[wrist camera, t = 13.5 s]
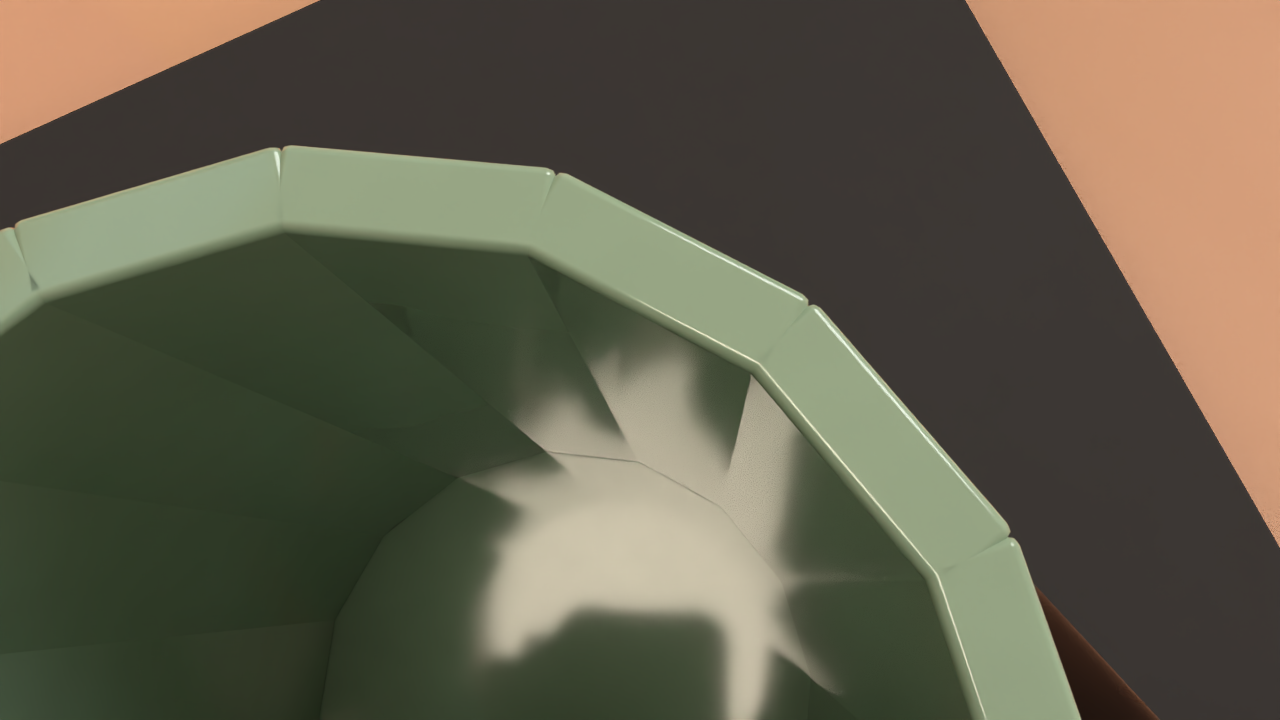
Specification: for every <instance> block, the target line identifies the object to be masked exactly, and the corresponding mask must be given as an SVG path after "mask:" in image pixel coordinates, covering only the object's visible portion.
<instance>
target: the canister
mask: <svg viewBox="0 0 1280 720" xmlns="http://www.w3.org/2000/svg"><path fill="white" fill-rule="evenodd" d="M1010 532H1011V531H1010V528H1009V526H1008V523H1007V521H1006V520H1005V519H1004V518H1003V517H1002V516H1001V514H1000V513H999V512H998V511H997V510H996V509H995V507H994V506H993V505H992V504H991V503H990V502H989V501H988V499H987V498H986V497H985V496H984V495H983V494H982V492H981V491H980V490H979V489H978V488H977V487H976V486H975V484H974V483H973V482H972V481H971V480H970V479H969V477H968V476H967V475H966V474H965V473H964V472H963V471H962V469H961V468H960V467H959V466H958V465H957V464H956V462H955V461H954V460H953V459H952V458H951V457H950V456H949V454H948V453H947V452H946V451H945V450H944V449H943V447H942V446H941V445H940V444H939V443H938V442H937V441H936V439H935V438H934V437H933V436H932V435H931V434H930V432H929V431H928V430H927V429H926V428H925V427H924V426H923V424H922V423H921V422H920V421H919V420H918V419H917V417H916V416H915V415H914V414H913V413H912V412H911V411H910V409H909V408H908V407H907V406H906V405H905V404H904V402H903V401H902V400H901V399H900V398H899V397H898V396H897V394H896V393H895V392H894V391H893V390H892V389H891V387H890V386H889V385H888V384H887V383H886V382H885V381H884V379H883V378H882V377H881V376H880V375H879V374H878V372H877V371H876V370H875V369H874V368H873V367H872V366H871V364H870V363H869V362H868V361H867V360H866V359H865V357H864V356H863V355H862V354H861V353H860V352H859V351H858V349H857V348H856V347H855V346H854V345H853V344H852V342H851V341H850V340H849V339H848V338H847V337H846V336H845V334H844V333H843V332H842V331H841V330H840V329H839V327H838V326H837V325H836V324H835V323H834V322H833V321H832V319H831V318H830V317H829V316H828V315H827V314H826V312H825V311H824V310H823V309H822V308H820V307H818V306H816V305H814V304H812V305H809V300H808V299H807V298H806V297H805V295H804V294H803V293H801V292H799V291H797V290H795V289H793V288H791V287H789V286H787V285H785V284H783V283H781V282H779V281H777V280H775V279H773V278H771V277H769V276H767V275H765V274H764V273H762V272H760V271H758V270H756V269H754V268H752V267H750V266H748V265H746V264H744V263H742V262H740V261H738V260H736V259H734V258H732V257H730V256H728V255H726V254H724V253H723V252H721V251H719V250H717V249H715V248H713V247H711V246H709V245H707V244H705V243H703V242H701V241H699V240H697V239H695V238H693V237H691V236H689V235H687V234H685V233H683V232H681V231H680V230H678V229H676V228H674V227H672V226H670V225H668V224H666V223H664V222H662V221H660V220H658V219H656V218H654V217H652V216H650V215H648V214H646V213H644V212H642V211H640V210H638V209H637V208H635V207H633V206H631V205H629V204H627V203H625V202H623V201H621V200H619V199H617V198H615V197H613V196H611V195H609V194H607V193H605V192H603V191H601V190H599V189H597V188H595V187H594V186H592V185H590V184H588V183H586V182H584V181H582V180H580V179H578V178H576V177H574V176H572V175H570V174H566V173H559V174H558V175H556V173H555V171H553V170H551V169H549V168H546V167H535V166H524V165H512V164H501V163H490V162H478V161H467V160H456V159H444V158H433V157H422V156H410V155H399V154H388V153H376V152H365V151H354V150H342V149H331V148H320V147H308V146H297V145H290V146H285V147H284V148H283V150H281V149H280V148H266V149H263V150H259V151H256V152H253V153H249V154H246V155H242V156H239V157H236V158H232V159H229V160H225V161H222V162H218V163H215V164H212V165H208V166H205V167H201V168H198V169H195V170H191V171H188V172H184V173H181V174H177V175H174V176H171V177H167V178H164V179H160V180H157V181H154V182H150V183H147V184H143V185H140V186H136V187H133V188H130V189H126V190H123V191H119V192H116V193H113V194H109V195H106V196H102V197H99V198H95V199H92V200H89V201H85V202H82V203H78V204H75V205H72V206H68V207H65V208H61V209H58V210H54V211H51V212H48V213H44V214H41V215H37V216H34V217H31V218H27V219H24V220H21V221H19V222H18V223H16V224H15V228H10V227H8V228H5V229H2V230H0V720H1082V718H1081V715H1080V712H1079V710H1078V707H1077V704H1076V701H1075V698H1074V695H1073V693H1072V690H1071V687H1070V684H1069V681H1068V679H1067V676H1066V673H1065V670H1064V667H1063V664H1062V662H1061V659H1060V656H1059V653H1058V650H1057V647H1056V645H1055V642H1054V639H1053V636H1052V633H1051V630H1050V628H1049V625H1048V622H1047V619H1046V616H1045V613H1044V611H1043V608H1042V605H1041V602H1040V599H1039V596H1038V594H1037V591H1036V588H1035V585H1034V582H1033V579H1032V577H1031V574H1030V571H1029V568H1028V565H1027V562H1026V560H1025V557H1024V554H1023V551H1022V548H1021V545H1020V544H1019V543H1018V542H1017V541H1016V539H1015V538H1014V537H1008V536H1009V534H1010Z"/></svg>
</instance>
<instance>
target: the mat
mask: <svg viewBox="0 0 1280 720" xmlns="http://www.w3.org/2000/svg"><path fill="white" fill-rule="evenodd" d="M290 145H297V146H308V147H320V148H331V149H342V150H354V151H365V152H376V153H388V154H399V155H410V156H422V157H433V158H444V159H456V160H467V161H478V162H490V163H501V164H512V165H524V166H535V167H546V168H549V169H551V170H553V171H555V173H556V175H558V174H559V173H566V174H570V175H572V176H574V177H576V178H578V179H580V180H582V181H584V182H586V183H588V184H590V185H592V186H594V187H595V188H597V189H599V190H601V191H603V192H605V193H607V194H609V195H611V196H613V197H615V198H617V199H619V200H621V201H623V202H625V203H627V204H629V205H631V206H633V207H635V208H637V209H638V210H640V211H642V212H644V213H646V214H648V215H650V216H652V217H654V218H656V219H658V220H660V221H662V222H664V223H666V224H668V225H670V226H672V227H674V228H676V229H678V230H680V231H681V232H683V233H685V234H687V235H689V236H691V237H693V238H695V239H697V240H699V241H701V242H703V243H705V244H707V245H709V246H711V247H713V248H715V249H717V250H719V251H721V252H723V253H724V254H726V255H728V256H730V257H732V258H734V259H736V260H738V261H740V262H742V263H744V264H746V265H748V266H750V267H752V268H754V269H756V270H758V271H760V272H762V273H764V274H765V275H767V276H769V277H771V278H773V279H775V280H777V281H779V282H781V283H783V284H785V285H787V286H789V287H791V288H793V289H795V290H797V291H799V292H801V293H803V294H804V295H805V297H806V298H807V299H808V300H809V305H812V304H814V305H816V306H818V307H820V308H822V309H823V310H824V311H825V312H826V314H827V315H828V316H829V317H830V318H831V319H832V321H833V322H834V323H835V324H836V325H837V326H838V327H839V329H840V330H841V331H842V332H843V333H844V334H845V336H846V337H847V338H848V339H849V340H850V341H851V342H852V344H853V345H854V346H855V347H856V348H857V349H858V351H859V352H860V353H861V354H862V355H863V356H864V357H865V359H866V360H867V361H868V362H869V363H870V364H871V366H872V367H873V368H874V369H875V370H876V371H877V372H878V374H879V375H880V376H881V377H882V378H883V379H884V381H885V382H886V383H887V384H888V385H889V386H890V387H891V389H892V390H893V391H894V392H895V393H896V394H897V396H898V397H899V398H900V399H901V400H902V401H903V402H904V404H905V405H906V406H907V407H908V408H909V409H910V411H911V412H912V413H913V414H914V415H915V416H916V417H917V419H918V420H919V421H920V422H921V423H922V424H923V426H924V427H925V428H926V429H927V430H928V431H929V432H930V434H931V435H932V436H933V437H934V438H935V439H936V441H937V442H938V443H939V444H940V445H941V446H942V447H943V449H944V450H945V451H946V452H947V453H948V454H949V456H950V457H951V458H952V459H953V460H954V461H955V462H956V464H957V465H958V466H959V467H960V468H961V469H962V471H963V472H964V473H965V474H966V475H967V476H968V477H969V479H970V480H971V481H972V482H973V483H974V484H975V486H976V487H977V488H978V489H979V490H980V491H981V492H982V494H983V495H984V496H985V497H986V498H987V499H988V501H989V502H990V503H991V504H992V505H993V506H994V507H995V509H996V510H997V511H998V512H999V513H1000V514H1001V516H1002V517H1003V518H1004V519H1005V520H1006V521H1007V523H1008V526H1009V528H1010V531H1011V532H1010V534H1009V536H1008V537H1014V538H1015V539H1016V541H1017V542H1018V543H1019V544H1020V545H1021V548H1022V551H1023V554H1024V557H1025V560H1026V562H1027V565H1028V568H1029V571H1030V574H1031V577H1032V579H1033V582H1034V584H1035V586H1036V587H1037V588H1038V589H1039V590H1040V591H1041V592H1042V593H1043V594H1044V595H1045V596H1046V597H1047V598H1048V600H1049V601H1050V602H1051V603H1052V604H1053V605H1054V606H1055V607H1056V608H1057V609H1058V610H1059V611H1060V612H1061V614H1062V615H1063V616H1064V617H1065V618H1066V619H1067V620H1068V621H1069V622H1070V623H1071V624H1072V625H1073V627H1074V628H1075V629H1076V630H1077V631H1078V632H1079V633H1080V634H1081V635H1082V636H1083V637H1084V638H1085V639H1086V641H1087V642H1088V643H1089V644H1090V645H1091V646H1092V647H1093V648H1094V649H1095V650H1096V651H1097V652H1098V653H1099V655H1100V656H1101V657H1102V658H1103V659H1104V660H1105V661H1106V662H1107V663H1108V664H1109V665H1110V666H1111V667H1112V669H1113V670H1114V671H1115V672H1116V673H1117V674H1118V675H1119V676H1120V677H1121V678H1122V679H1123V680H1124V681H1125V683H1126V684H1127V685H1128V686H1129V687H1130V688H1131V689H1132V690H1133V691H1134V692H1135V693H1136V694H1137V696H1138V697H1139V698H1140V699H1141V700H1142V701H1143V702H1144V703H1145V704H1146V705H1147V706H1148V707H1149V708H1150V710H1151V711H1152V712H1153V713H1154V714H1155V715H1156V716H1157V717H1158V718H1159V719H1160V720H1280V547H1279V546H1278V544H1277V542H1276V540H1275V539H1274V537H1273V535H1272V533H1271V532H1270V530H1269V528H1268V526H1267V525H1266V523H1265V521H1264V520H1263V518H1262V516H1261V514H1260V513H1259V511H1258V509H1257V507H1256V506H1255V504H1254V502H1253V500H1252V499H1251V497H1250V495H1249V493H1248V492H1247V490H1246V488H1245V486H1244V485H1243V483H1242V481H1241V480H1240V478H1239V476H1238V474H1237V473H1236V471H1235V469H1234V467H1233V466H1232V464H1231V462H1230V460H1229V459H1228V457H1227V455H1226V453H1225V452H1224V450H1223V448H1222V446H1221V445H1220V443H1219V441H1218V439H1217V438H1216V436H1215V434H1214V433H1213V431H1212V429H1211V427H1210V426H1209V424H1208V422H1207V420H1206V419H1205V417H1204V415H1203V413H1202V412H1201V410H1200V408H1199V406H1198V405H1197V403H1196V401H1195V399H1194V398H1193V396H1192V394H1191V393H1190V391H1189V389H1188V387H1187V386H1186V384H1185V382H1184V380H1183V379H1182V377H1181V375H1180V373H1179V372H1178V370H1177V368H1176V366H1175V365H1174V363H1173V361H1172V359H1171V358H1170V356H1169V354H1168V352H1167V351H1166V349H1165V347H1164V346H1163V344H1162V342H1161V340H1160V339H1159V337H1158V335H1157V333H1156V332H1155V330H1154V328H1153V326H1152V325H1151V323H1150V321H1149V319H1148V318H1147V316H1146V314H1145V312H1144V311H1143V309H1142V307H1141V306H1140V304H1139V302H1138V300H1137V299H1136V297H1135V295H1134V293H1133V292H1132V290H1131V288H1130V286H1129V285H1128V283H1127V281H1126V279H1125V278H1124V276H1123V274H1122V272H1121V271H1120V269H1119V267H1118V265H1117V264H1116V262H1115V260H1114V259H1113V257H1112V255H1111V253H1110V252H1109V250H1108V248H1107V246H1106V245H1105V243H1104V241H1103V239H1102V238H1101V236H1100V234H1099V232H1098V231H1097V229H1096V227H1095V225H1094V224H1093V222H1092V220H1091V219H1090V217H1089V215H1088V213H1087V212H1086V210H1085V208H1084V206H1083V205H1082V203H1081V201H1080V199H1079V198H1078V196H1077V194H1076V192H1075V191H1074V189H1073V187H1072V185H1071V184H1070V182H1069V180H1068V178H1067V177H1066V175H1065V173H1064V172H1063V170H1062V168H1061V166H1060V165H1059V163H1058V161H1057V159H1056V158H1055V156H1054V154H1053V152H1052V151H1051V149H1050V147H1049V145H1048V144H1047V142H1046V140H1045V138H1044V137H1043V135H1042V133H1041V132H1040V130H1039V128H1038V126H1037V125H1036V123H1035V121H1034V119H1033V118H1032V116H1031V114H1030V112H1029V111H1028V109H1027V107H1026V105H1025V104H1024V102H1023V100H1022V98H1021V97H1020V95H1019V93H1018V91H1017V90H1016V88H1015V86H1014V85H1013V83H1012V81H1011V79H1010V78H1009V76H1008V74H1007V72H1006V71H1005V69H1004V67H1003V65H1002V64H1001V62H1000V60H999V58H998V57H997V55H996V53H995V51H994V50H993V48H992V46H991V45H990V43H989V41H988V39H987V38H986V36H985V34H984V32H983V31H982V29H981V27H980V25H979V24H978V22H977V20H976V18H975V17H974V15H973V13H972V11H971V10H970V8H969V6H968V4H967V3H966V1H965V0H320V1H318V2H315V3H313V4H311V5H309V6H306V7H304V8H302V9H300V10H298V11H295V12H293V13H291V14H289V15H286V16H284V17H282V18H280V19H278V20H275V21H273V22H271V23H269V24H266V25H264V26H262V27H260V28H258V29H255V30H253V31H251V32H249V33H246V34H244V35H242V36H240V37H238V38H235V39H233V40H231V41H229V42H226V43H224V44H222V45H220V46H218V47H215V48H213V49H211V50H209V51H206V52H204V53H202V54H200V55H198V56H195V57H193V58H191V59H189V60H186V61H184V62H182V63H180V64H178V65H175V66H173V67H171V68H169V69H166V70H164V71H162V72H160V73H158V74H155V75H153V76H151V77H149V78H146V79H144V80H142V81H140V82H138V83H135V84H133V85H131V86H129V87H127V88H124V89H122V90H120V91H118V92H115V93H113V94H111V95H109V96H107V97H104V98H102V99H100V100H98V101H95V102H93V103H91V104H89V105H87V106H84V107H82V108H80V109H78V110H75V111H73V112H71V113H69V114H67V115H64V116H62V117H60V118H58V119H55V120H53V121H51V122H49V123H47V124H44V125H42V126H40V127H38V128H35V129H33V130H31V131H29V132H27V133H24V134H22V135H20V136H18V137H15V138H13V139H11V140H9V141H7V142H4V143H2V144H0V230H2V229H5V228H8V227H10V228H15V224H16V223H18V222H19V221H21V220H24V219H27V218H31V217H34V216H37V215H41V214H44V213H48V212H51V211H54V210H58V209H61V208H65V207H68V206H72V205H75V204H78V203H82V202H85V201H89V200H92V199H95V198H99V197H102V196H106V195H109V194H113V193H116V192H119V191H123V190H126V189H130V188H133V187H136V186H140V185H143V184H147V183H150V182H154V181H157V180H160V179H164V178H167V177H171V176H174V175H177V174H181V173H184V172H188V171H191V170H195V169H198V168H201V167H205V166H208V165H212V164H215V163H218V162H222V161H225V160H229V159H232V158H236V157H239V156H242V155H246V154H249V153H253V152H256V151H259V150H263V149H266V148H280V149H281V150H283V148H284V147H285V146H290Z"/></svg>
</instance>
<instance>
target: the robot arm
mask: <svg viewBox="0 0 1280 720" xmlns="http://www.w3.org/2000/svg"><path fill="white" fill-rule="evenodd" d="M1034 585H1035V584H1034ZM1035 588H1036V591H1037V594H1038V596H1039V599H1040V602H1041V605H1042V608H1043V611H1044V613H1045V616H1046V619H1047V622H1048V625H1049V628H1050V630H1051V633H1052V636H1053V639H1054V642H1055V645H1056V647H1057V650H1058V653H1059V656H1060V659H1061V662H1062V664H1063V667H1064V670H1065V673H1066V676H1067V679H1068V681H1069V684H1070V687H1071V690H1072V693H1073V695H1074V698H1075V701H1076V704H1077V707H1078V710H1079V712H1080V715H1081V718H1082V720H1160V719H1159V718H1158V717H1157V716H1156V715H1155V714H1154V713H1153V712H1152V711H1151V710H1150V708H1149V707H1148V706H1147V705H1146V704H1145V703H1144V702H1143V701H1142V700H1141V699H1140V698H1139V697H1138V696H1137V694H1136V693H1135V692H1134V691H1133V690H1132V689H1131V688H1130V687H1129V686H1128V685H1127V684H1126V683H1125V681H1124V680H1123V679H1122V678H1121V677H1120V676H1119V675H1118V674H1117V673H1116V672H1115V671H1114V670H1113V669H1112V667H1111V666H1110V665H1109V664H1108V663H1107V662H1106V661H1105V660H1104V659H1103V658H1102V657H1101V656H1100V655H1099V653H1098V652H1097V651H1096V650H1095V649H1094V648H1093V647H1092V646H1091V645H1090V644H1089V643H1088V642H1087V641H1086V639H1085V638H1084V637H1083V636H1082V635H1081V634H1080V633H1079V632H1078V631H1077V630H1076V629H1075V628H1074V627H1073V625H1072V624H1071V623H1070V622H1069V621H1068V620H1067V619H1066V618H1065V617H1064V616H1063V615H1062V614H1061V612H1060V611H1059V610H1058V609H1057V608H1056V607H1055V606H1054V605H1053V604H1052V603H1051V602H1050V601H1049V600H1048V598H1047V597H1046V596H1045V595H1044V594H1043V593H1042V592H1041V591H1040V590H1039V589H1038V588H1037V587H1036V586H1035Z"/></svg>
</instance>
